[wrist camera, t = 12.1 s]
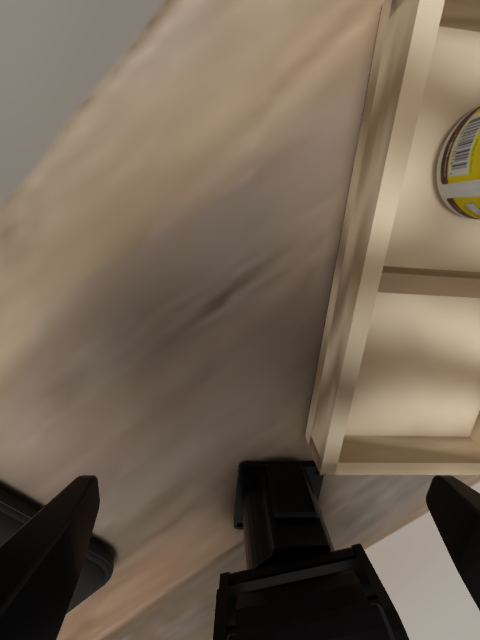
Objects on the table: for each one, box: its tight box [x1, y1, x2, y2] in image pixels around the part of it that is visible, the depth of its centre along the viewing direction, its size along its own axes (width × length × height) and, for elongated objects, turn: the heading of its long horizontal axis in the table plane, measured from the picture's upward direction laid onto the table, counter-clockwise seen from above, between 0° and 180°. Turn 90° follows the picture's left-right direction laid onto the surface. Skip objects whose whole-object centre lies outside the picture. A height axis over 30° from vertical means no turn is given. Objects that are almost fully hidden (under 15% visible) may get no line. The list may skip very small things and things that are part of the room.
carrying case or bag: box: [0, 486, 114, 614], centre depth 23 cm, size 11×3×15 cm
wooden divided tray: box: [305, 0, 480, 475], centre depth 18 cm, size 25×13×4 cm, turn 176°
